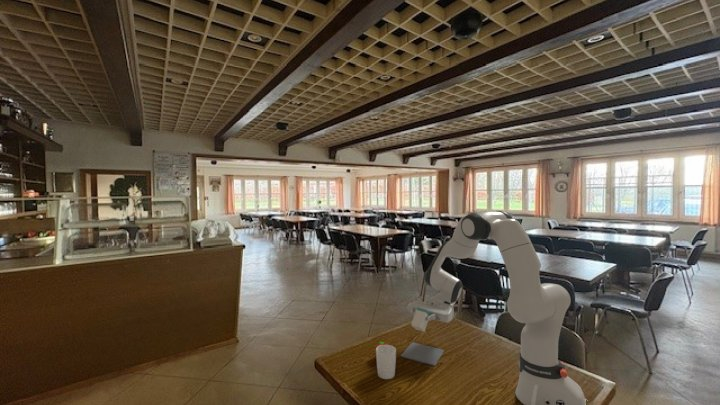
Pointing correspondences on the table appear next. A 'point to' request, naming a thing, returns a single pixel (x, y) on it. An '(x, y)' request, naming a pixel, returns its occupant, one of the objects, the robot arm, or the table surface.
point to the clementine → (382, 343)
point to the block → (420, 319)
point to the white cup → (386, 361)
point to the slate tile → (423, 353)
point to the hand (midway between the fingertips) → (420, 317)
